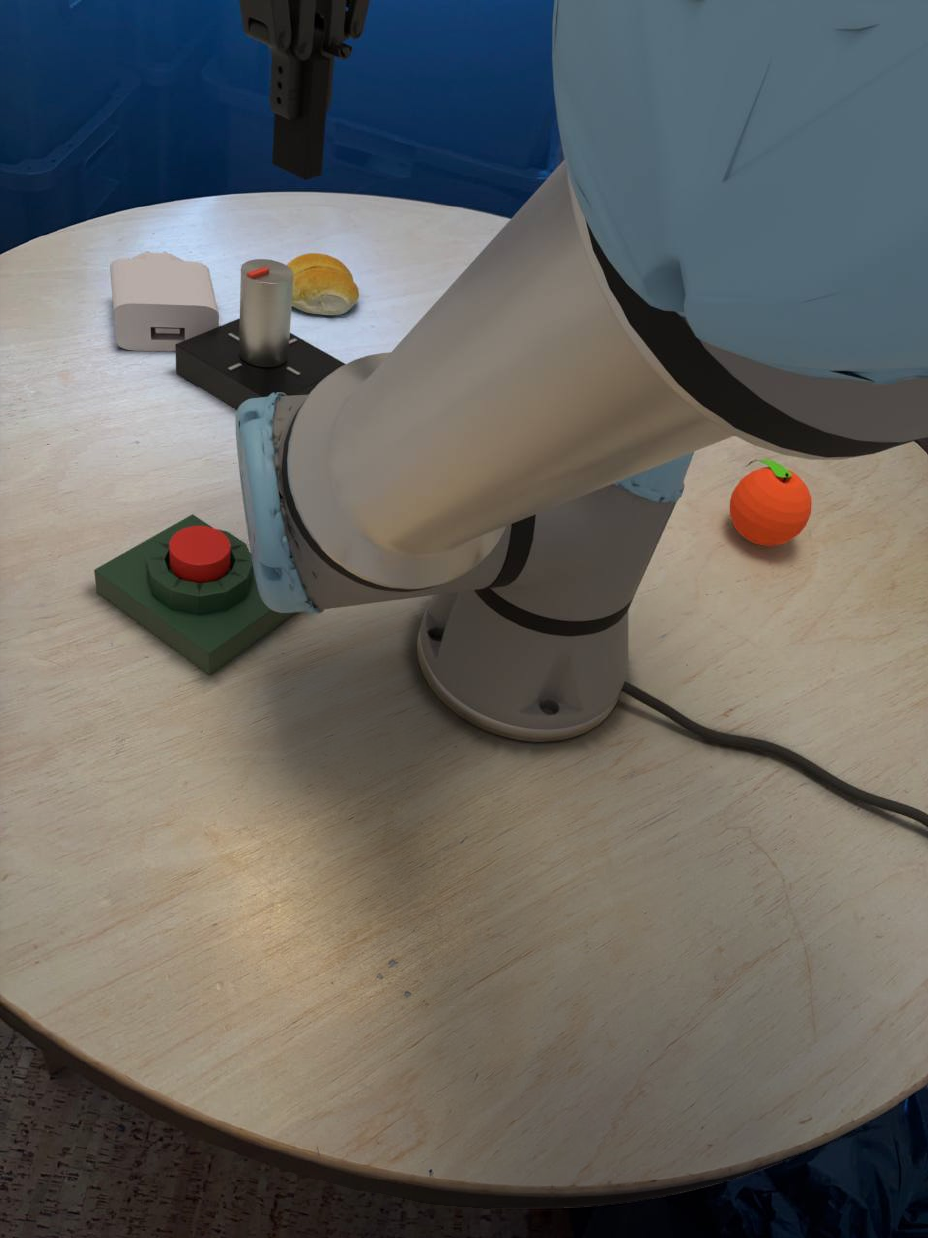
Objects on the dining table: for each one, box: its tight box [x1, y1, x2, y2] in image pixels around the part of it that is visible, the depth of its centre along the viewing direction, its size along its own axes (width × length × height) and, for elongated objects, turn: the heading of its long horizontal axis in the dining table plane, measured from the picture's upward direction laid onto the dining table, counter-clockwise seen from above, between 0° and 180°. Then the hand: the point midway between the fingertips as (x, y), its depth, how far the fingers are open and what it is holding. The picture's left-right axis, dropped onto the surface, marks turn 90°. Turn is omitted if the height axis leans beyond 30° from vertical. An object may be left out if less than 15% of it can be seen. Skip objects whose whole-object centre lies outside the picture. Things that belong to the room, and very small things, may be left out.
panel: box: [174, 317, 346, 411], centre depth 88 cm, size 12×10×3 cm
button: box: [169, 526, 231, 583], centre depth 65 cm, size 4×4×2 cm
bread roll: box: [285, 252, 360, 316], centre depth 101 cm, size 8×9×4 cm
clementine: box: [729, 458, 813, 547], centre depth 84 cm, size 8×7×7 cm
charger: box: [109, 250, 220, 352], centre depth 93 cm, size 5×9×15 cm
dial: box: [239, 258, 293, 367], centre depth 84 cm, size 4×4×8 cm
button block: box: [93, 513, 297, 676], centre depth 66 cm, size 11×9×4 cm
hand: (296, 168), depth 59 cm, fingers closed
